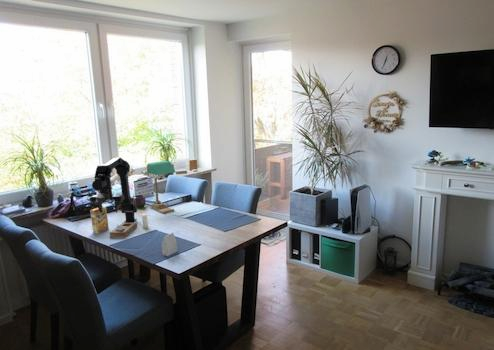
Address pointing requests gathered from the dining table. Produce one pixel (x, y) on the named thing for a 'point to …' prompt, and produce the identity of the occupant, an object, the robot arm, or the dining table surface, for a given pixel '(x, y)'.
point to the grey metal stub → (120, 227)
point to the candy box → (99, 220)
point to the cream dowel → (145, 221)
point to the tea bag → (169, 244)
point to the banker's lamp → (156, 169)
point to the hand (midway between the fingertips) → (109, 212)
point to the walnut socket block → (126, 230)
